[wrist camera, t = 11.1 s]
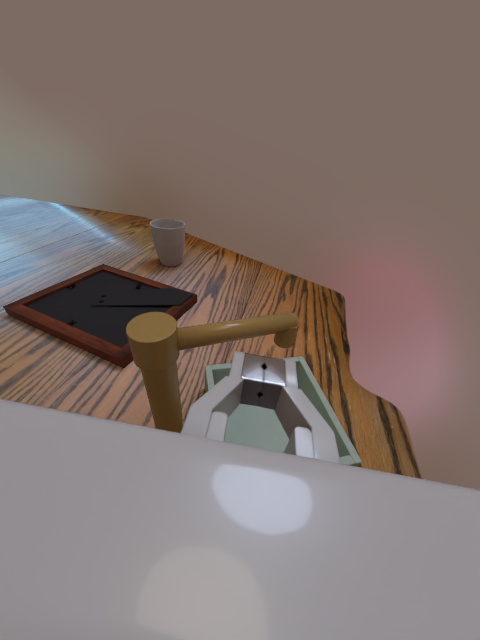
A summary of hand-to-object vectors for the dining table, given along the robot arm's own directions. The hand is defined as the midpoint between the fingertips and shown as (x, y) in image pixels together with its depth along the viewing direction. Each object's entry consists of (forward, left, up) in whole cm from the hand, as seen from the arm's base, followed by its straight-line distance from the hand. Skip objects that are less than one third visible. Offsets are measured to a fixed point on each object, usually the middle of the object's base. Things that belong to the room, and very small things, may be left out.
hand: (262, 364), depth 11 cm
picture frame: (+36, -8, -19) cm, 41 cm away
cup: (+45, -29, -19) cm, 56 cm away
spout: (+5, -3, -6) cm, 8 cm away
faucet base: (+8, +1, -19) cm, 20 cm away
